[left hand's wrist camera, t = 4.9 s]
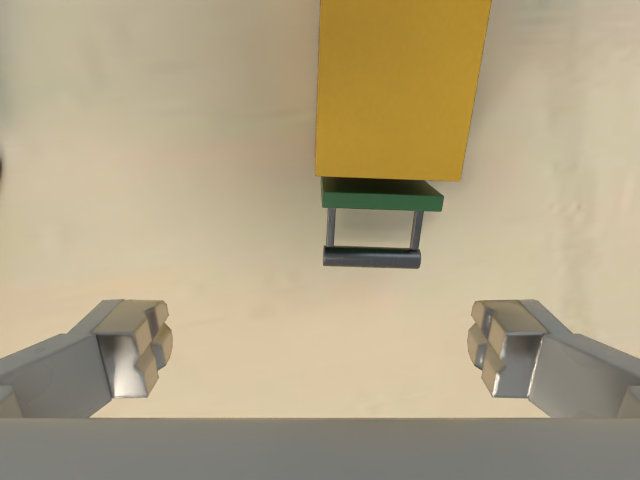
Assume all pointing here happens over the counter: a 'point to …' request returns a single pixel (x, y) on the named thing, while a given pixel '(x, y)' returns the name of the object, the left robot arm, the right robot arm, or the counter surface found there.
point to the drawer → (384, 198)
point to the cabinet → (397, 87)
